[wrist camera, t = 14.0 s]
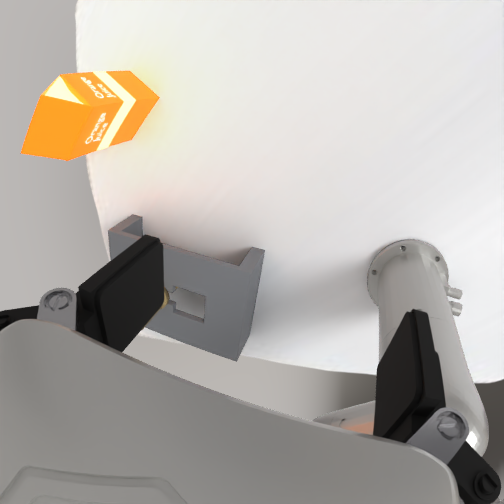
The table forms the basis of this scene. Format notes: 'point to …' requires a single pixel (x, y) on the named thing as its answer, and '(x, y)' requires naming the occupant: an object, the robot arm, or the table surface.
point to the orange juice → (87, 114)
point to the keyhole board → (201, 293)
